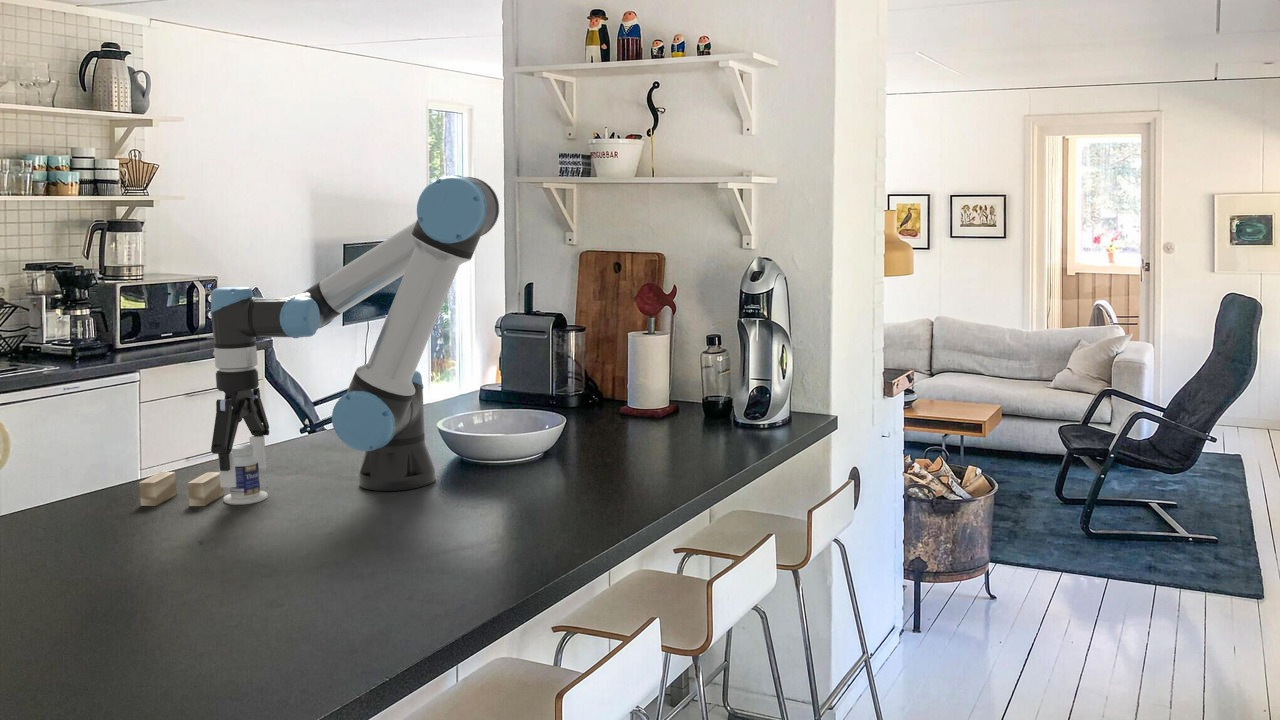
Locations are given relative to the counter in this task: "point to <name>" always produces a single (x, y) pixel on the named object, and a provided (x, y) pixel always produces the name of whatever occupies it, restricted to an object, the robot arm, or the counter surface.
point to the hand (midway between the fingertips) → (244, 477)
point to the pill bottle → (245, 473)
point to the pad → (233, 501)
